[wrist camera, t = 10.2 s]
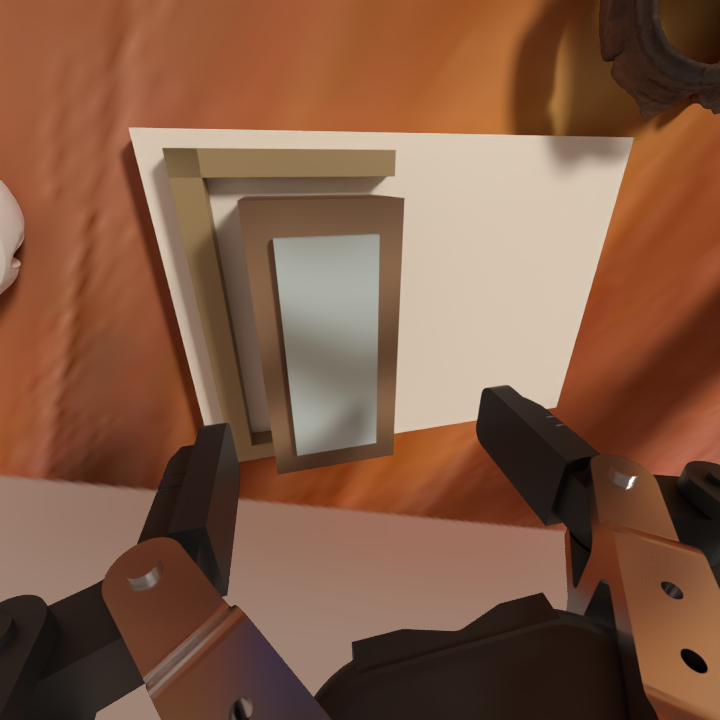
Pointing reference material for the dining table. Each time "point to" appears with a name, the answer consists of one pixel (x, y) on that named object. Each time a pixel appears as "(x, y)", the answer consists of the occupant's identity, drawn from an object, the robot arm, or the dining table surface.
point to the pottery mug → (652, 60)
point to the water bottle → (9, 237)
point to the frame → (326, 322)
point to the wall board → (419, 256)
